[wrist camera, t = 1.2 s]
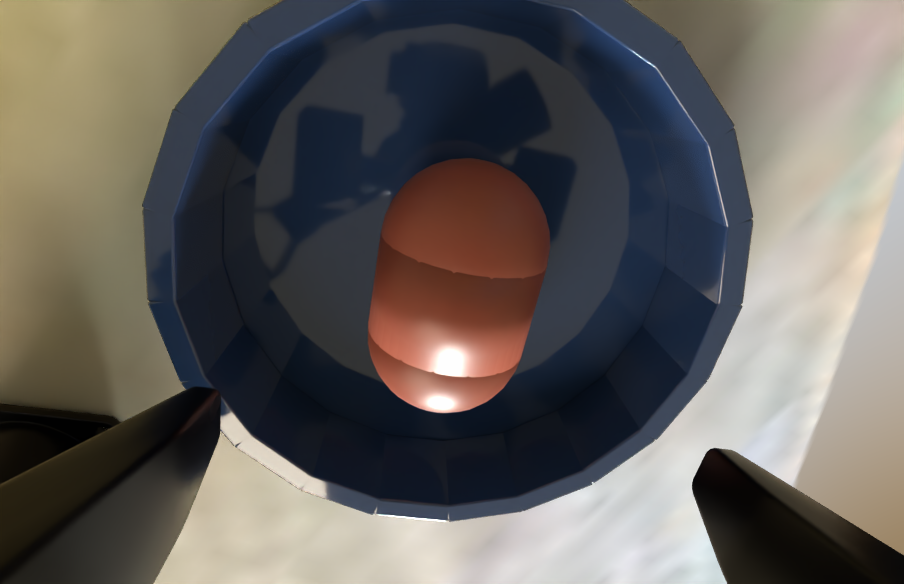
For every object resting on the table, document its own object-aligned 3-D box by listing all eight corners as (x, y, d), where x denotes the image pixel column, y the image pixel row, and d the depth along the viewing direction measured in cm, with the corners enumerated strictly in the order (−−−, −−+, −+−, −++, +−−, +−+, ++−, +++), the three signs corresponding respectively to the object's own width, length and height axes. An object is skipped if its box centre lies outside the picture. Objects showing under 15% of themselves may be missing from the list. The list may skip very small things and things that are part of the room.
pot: (205, 420, 20) (156, 496, 16) (203, -81, 13) (121, -144, 10) (598, 464, 22) (634, 539, 18) (761, 52, 16) (866, 42, 12)
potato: (366, 350, 18) (348, 438, 14) (397, 134, 15) (387, 155, 11) (493, 367, 19) (516, 456, 14) (546, 163, 16) (597, 194, 11)
